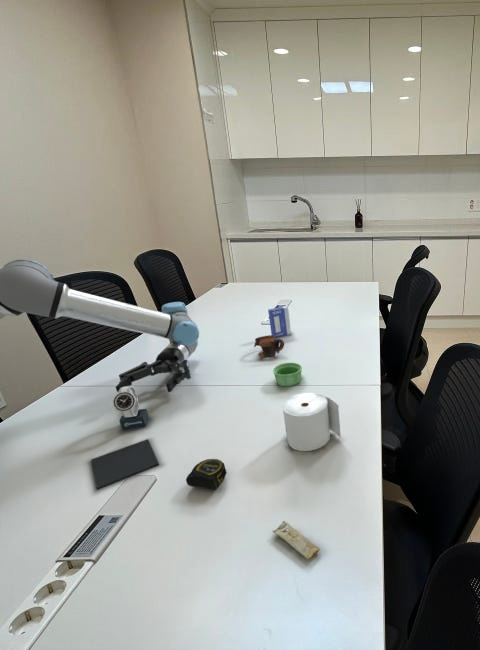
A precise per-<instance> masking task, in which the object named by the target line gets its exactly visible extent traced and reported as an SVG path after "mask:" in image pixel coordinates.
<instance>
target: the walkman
mask: <svg viewBox="0 0 480 650" xmlns="http://www.w3.org/2000/svg"><path fill="white" fill-rule="evenodd" d="M289 311H290V310H289V307H288V306H287V305H284V306H279V307H274V308H269V309H268V311H267V312H268V320H269V326H270V333H271V335H273V336H275V339H277V338H281V337H285V336H289V335H291V334H292V330H291V322H290V321H291V320H290V312H289Z"/></svg>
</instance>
